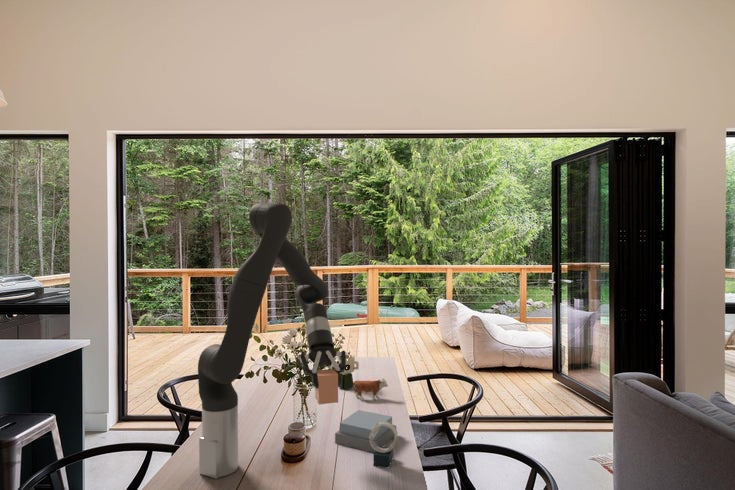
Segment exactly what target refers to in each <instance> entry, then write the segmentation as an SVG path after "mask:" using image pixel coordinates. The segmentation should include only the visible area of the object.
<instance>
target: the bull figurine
mask: <svg viewBox="0 0 735 490" xmlns="http://www.w3.org/2000/svg"><path fill="white" fill-rule="evenodd" d="M386 387H389V384H388V382H387V381H386V379H385V378H375V379H370V380H354V381H353V387H352V388H353V390H354V394H355V398H356V399H360V400H361V401H365V398H364V397H363V396H362V392H364V393H365V395H367V394H368V393H372V395H373V396H372V400H373V401H376V400H377V399H379V398H380V397H379V396H378V393H379V392H380V391H382V389H383V388H386Z"/></svg>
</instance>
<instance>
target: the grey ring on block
mask: <svg viewBox="0 0 735 490" xmlns="http://www.w3.org/2000/svg"><path fill="white" fill-rule="evenodd" d="M393 425H394V424H393V423H392V424H391V423H389V422H384V421H381V422H380V423H377V424H376V425H375V427H374V429H373V430H372V432H371V434H370V435H369V438H370V440H369V442H370V444H371V446H372V448H373V449H374V450H376V451H375V453H374V452H373V462H372V463H373V467H378V466H380V467H379V468H386V467H389V466H391V464H392V462H393V459H394V458H393V457H394V447H395V445H396V443H397V440H398V437H399V436H398V431H397V427H396V428H395V427H394V426H393ZM381 426H387V427H389V428H390V429H392V431H393V432H394V434H395V436H394V437H393V442H392V443H391V444H390V445H389V446H384V447H383V446H377V445H376V444H375V443H374V441H373V439H374V438H375V436H376V435H377V433H378V431H379V430H380V428H381ZM392 458H393V459H392ZM391 461H392V462H391ZM390 463H391V464H390ZM389 468H390V467H389Z"/></svg>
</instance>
